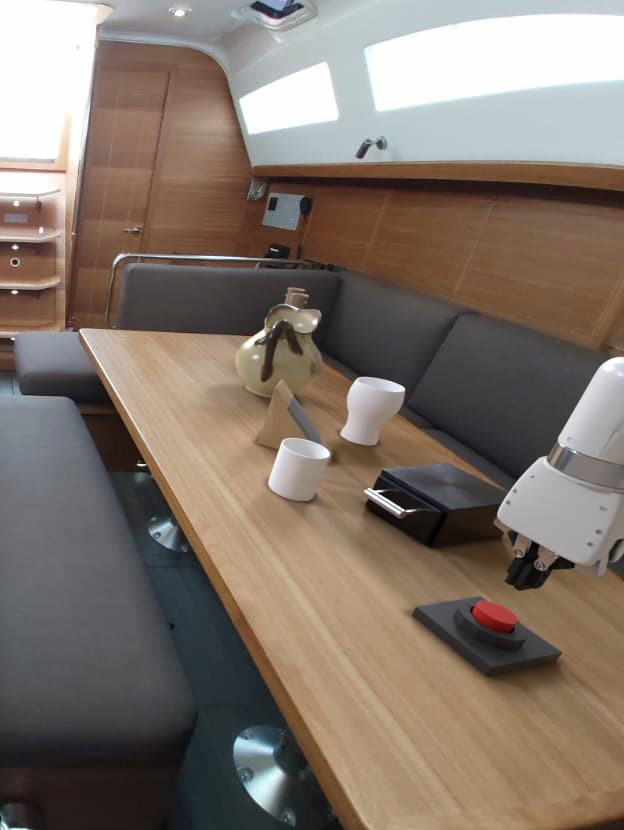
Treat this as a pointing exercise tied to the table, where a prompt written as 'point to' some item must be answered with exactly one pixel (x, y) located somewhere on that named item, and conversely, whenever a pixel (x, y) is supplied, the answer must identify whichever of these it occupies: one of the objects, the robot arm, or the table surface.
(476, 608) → the button
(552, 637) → the table surface
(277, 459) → the mug
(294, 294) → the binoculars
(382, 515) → the black drawer
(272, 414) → the sandwich container
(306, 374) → the pitcher
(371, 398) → the cup
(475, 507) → the black drawer box
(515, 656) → the control block
